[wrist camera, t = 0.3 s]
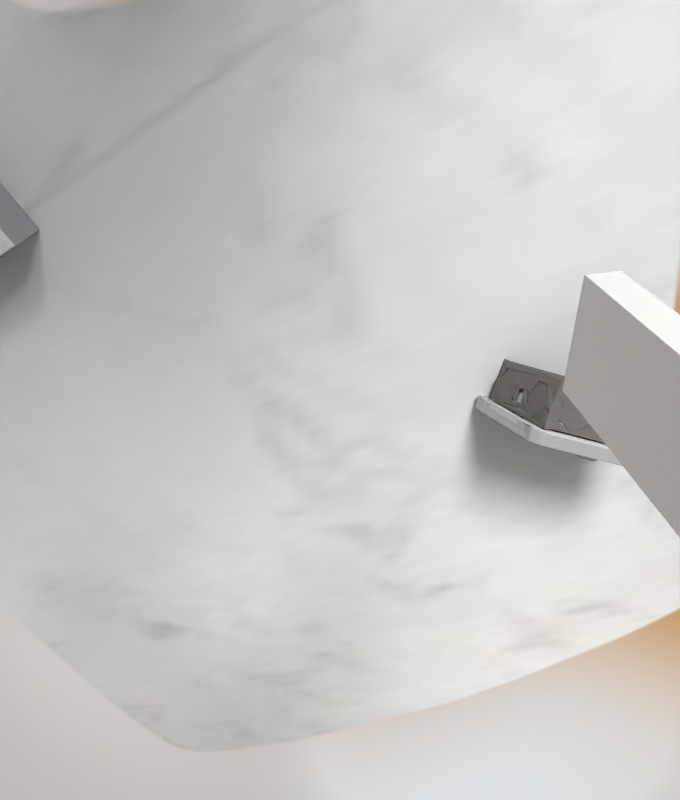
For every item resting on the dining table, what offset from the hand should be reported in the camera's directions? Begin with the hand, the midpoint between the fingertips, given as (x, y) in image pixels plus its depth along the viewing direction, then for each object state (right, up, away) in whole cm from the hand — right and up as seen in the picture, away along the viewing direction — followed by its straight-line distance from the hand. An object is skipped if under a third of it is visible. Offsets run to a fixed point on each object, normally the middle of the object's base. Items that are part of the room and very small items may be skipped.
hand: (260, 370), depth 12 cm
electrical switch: (+15, 0, +30) cm, 34 cm away
